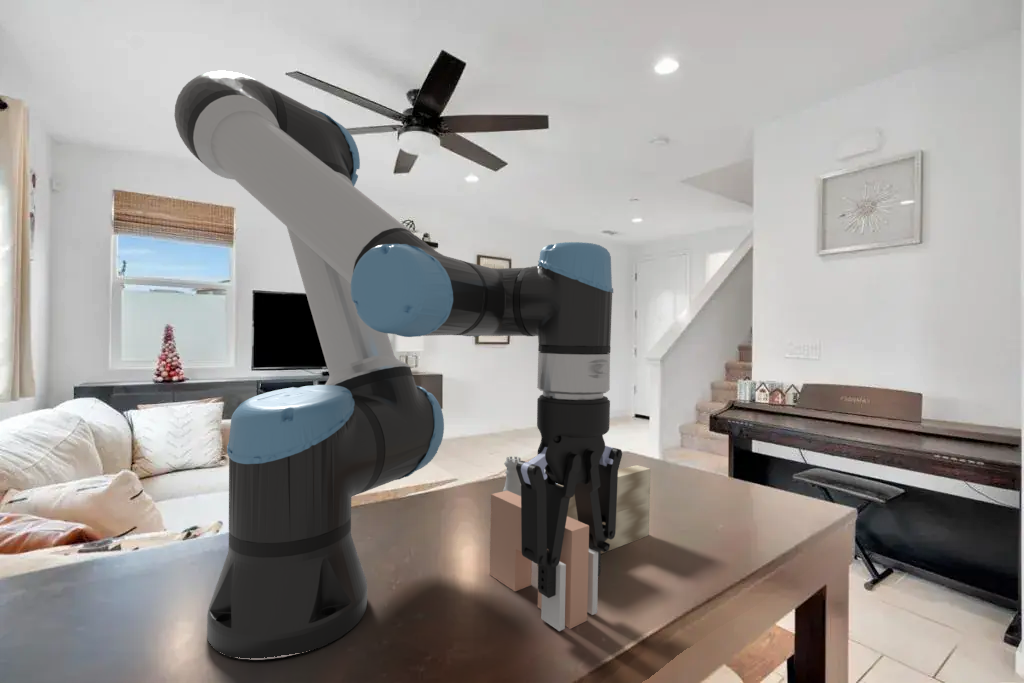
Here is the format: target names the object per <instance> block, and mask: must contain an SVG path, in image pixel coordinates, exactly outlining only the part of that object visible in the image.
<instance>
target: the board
mask: <svg viewBox="0 0 1024 683" xmlns="http://www.w3.org/2000/svg"><path fill="white" fill-rule="evenodd" d="M651 473H652V472H651V468H649V467H646V466H641V465H638V464H636V465H632V466H628V467H623V468H619V469H618V482H617V507H616V532H615V536H614V538H613V539H607V540H606V541H605V542H607V543H609V544H610V547H609V550H608V551H607V552H610V551H611V550H615V549H617V548H619V547H622V546H625V545H627V544H629V543H632V542H635V541H638V540H640V539H642V538H646V537H648V536H650V516H651V515H650V514H651V513H650V511H651V510H650V508H651V507H650V505H651V475H652V474H651ZM556 484H557V483H556ZM557 485H560V484H557ZM560 486H563V485H560ZM567 516H568V517H570V518H573V519H575V520H577V521H578V516H577V509H576V501H575V494H574V496H573V497H571V498H570V500H569V507H568V513H567ZM602 524H604V525H605V522H602ZM604 553H605V552H603V551H601V555H602V554H604ZM536 566H537V567H538V564H536Z"/></svg>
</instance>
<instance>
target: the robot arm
mask: <svg viewBox="0 0 1024 683" xmlns="http://www.w3.org/2000/svg"><path fill="white" fill-rule="evenodd" d="M173 117H174V120H175V126H176V130H177V133H178V135H179V137H180V139H181V140H182V142H183V143H184V145H185V146H186V148H187V149H188V151H189V152H190V153H191V154H192V155H193V156H194V157H195V158H196V160H198V161H199V162H200V163H201V164H203V165H204V166H205V167H206V168H207V169H208V170H209V171H211V172H212V173H214V174H215V175H217V176H220V177H222V178H224V179H228V180H234V181H236V183H238V184H239V185H240V187H242V188H243V189H244V190H246V191H247V193H249V194H250V195H251V196H252V197H253V198H254V199H256V200H257V201H258V202H259V203H260V204H261V205H262V206H263V207H264V208H266V209H267V211H268V212H270V213H271V214H272V215H273V216H274V217H275V218H276V219H278V220H279V221H280V222H281V223H282V224H283V225H285V226H286V228H287V229H286V230H287V232H288V236H289V239H290V243H291V246H292V250H293V252H294V256H295V260H296V263H297V266H298V270H299V274H300V277H301V282H302V284H303V288H304V291H305V294H306V297H307V301H308V306H309V309H310V312H311V315H312V320H313V323H314V326H315V330H316V333H317V337H318V340H319V343H320V347H321V350H322V354H323V357H324V361H325V365H326V367H327V372H328V374H329V376H328V378H327V380H326V382H325V383H324V384H313V385H305V386H300V387H294V386H292V387H288V388H287V387H286V388H282V389H281V388H280V389H275V390H272V391H267V392H264V393H261V394H258V395H254V396H252V397H250V398H248V399H246V400H244V401H242V402H241V403H240V404H238V406H237V408H236V409H235V410H234V412H233V413H232V415H231V418H230V419H231V420H230V427H229V428H230V429H229V436H228V443H227V446H226V454H227V456H228V551H227V555H226V558H225V561H224V563H223V567H222V568H221V571H220V574H219V577H218V581H217V584H216V586H215V588H214V592H213V594H212V597H211V600H210V603H209V605H208V609H207V618H206V621H207V622H206V627H207V628H206V639H207V641H209V642H208V644H209V643H210V644H211V645H210V644H209V645H210V647H211V646H213V647H214V648H215V649H216V650H217V651H219V652H221V653H223V654H225V655H227V656H231V657H238V658H239V657H240V658H250V659H251V658H264V657H265V658H267V657H274V656H275V657H277V656H281V655H289V654H295V653H302V652H306V651H309V650H312V651H314V650H313V649H315V650H317V649H316V648H318V649H320V648H322V647H325V646H327V645H329V644H332V643H333V642H334V641H336V640H338V639H340V638H341V637H343V636H344V635H346V634H347V633H348V632H350V631H352V629H354V627H355V626H356V625H357V624H358V623H359V622H360V621H361V620H362V619H363V617H364V615H365V613H366V610H367V606H368V584H367V582H368V581H367V578H366V575H365V571H364V569H363V566H362V562H361V561H360V557H359V555H358V551H357V548H356V545H355V542H354V539H353V537H352V498H353V497H355V496H357V495H360V494H363V493H365V492H367V491H371V490H372V489H375V488H378V487H381V486H383V485H386V484H388V483H391V482H394V481H397V480H402V479H403V478H407V477H409V476H411V475H412V474H414V473H415V472H417V471H419V470H420V469H423V468H424V467H426V466H427V465H429V464H430V462H432V460H433V459H434V458H435V457H436V455H437V454H438V450H439V448H440V447H441V444H442V441H443V439H444V431H445V421H444V414H443V410H442V407H441V405H440V402H439V401H438V400H437V398H436V397H435V395H434V394H433V393H432V392H429V391H427V389H426V388H424V387H422V386H421V385H416V382H415V378H414V375H413V373H412V370H411V369H412V368H411V366H410V364H408V363H406V362H404V361H402V360H400V359H398V358H397V357H396V356H395V353H394V351H393V347H392V344H391V341H390V338H389V337H390V336H389V335H390V334H392V335H396V336H400V337H404V338H412V337H413V338H414V337H425V336H427V337H428V336H463V337H474V338H475V337H483V336H484V337H489V336H491V337H493V336H494V337H503V336H504V337H509V336H510V337H513V336H514V337H518V336H519V337H522V336H524V337H537V339H538V348H537V350H538V352H537V354H538V355H537V358H538V359H537V387H536V388H537V389H538V390H539V391H541V392H542V393H541V394H540V395H539V397H537V409H536V422H537V423H536V427H537V430H538V431H539V432H540V437H541V438H540V443H539V446H538V448H537V455H536V456H534V457H532V458H531V459H530V460H529V461H525V460H521V461H519V462H518V463H517V465H516V470H517V474H518V477H519V480H520V483H521V538H522V555H523V556H524V557H526V558H527V559H529V560H531V561H532V563H535V565H537V564H538V566H537V591H538V590H539V592H540V593H541V594H542V608H541V609H540V610H541V611H540V612H541V615H540V616H541V618H540V619H541V620H542V621H543V622H545V623H547V625H549V626H551V627H553V628H554V629H555V630H557V631H558V632H561V631H564V630H565V629H566V626H565V586H566V564H564V563H562V562H560V556H561V550H562V544H563V538H564V531H565V525H566V519H567V513H568V507H569V500H570V498H571V497H573V496H574V494H575V501H576V509H577V516H578V521H580V522H582V523H584V524H587V525H589V556H588V604H587V614H590V615H591V616H593V615H595V614H597V613H598V594H599V593H598V592H599V591H598V588H599V586H598V585H599V583H598V582H599V579H598V578H599V577H600V574H601V566H602V565H601V564H602V563H601V561H602V560H601V559H602V557H601V556H602V554H601V551H603V552H604V553H607V552H609V551H608V550H609V547H610V544H609V543H607V542H605V541H606V540H607V539H613V538H614V536H615V532H616V507H617V482H618V469H620V465H621V461H622V456H623V451H622V449H619V448H616V447H612V446H608V445H606V442H605V439H604V436H605V435H606V434H607V433H608V432H609V430H610V420H611V419H610V414H611V413H610V412H611V400H610V399H609V398H608V396H605V395H604V394H606V393H607V392H609V391H610V386H611V382H610V381H611V380H610V376H611V375H610V374H611V373H610V372H611V371H610V370H611V366H610V365H611V341H612V340H611V339H612V336H611V335H612V312H613V310H612V308H613V294H614V288H613V280H612V278H613V277H612V256H611V252H609V250H608V249H607V248H605V247H604V246H602V245H600V244H596V243H593V242H592V243H591V242H580V241H578V242H577V241H571V242H569V241H567V242H566V241H565V242H557V243H554V244H548V245H545V246H543V247H542V249H541V250H540V251H539V260H537V262H538V264H537V265H533V266H532V265H531V266H528V267H511V268H510V267H508V268H506V267H505V268H493V267H489V266H484V265H480V264H476V263H472V262H469V261H465V260H461V259H458V258H454V257H450V256H447V255H444V254H442V253H440V252H438V251H436V249H434V248H433V247H431V246H430V245H429V244H428V243H427V242H425V241H424V240H422V239H421V238H420V237H418V236H417V235H416V234H414V233H413V232H412V231H411V230H410V229H409V228H407V227H406V226H405V225H403V223H401V222H400V221H399V220H397V219H396V218H395V217H394V216H392V215H391V214H390V213H388V212H387V211H386V210H385V209H383V208H382V207H381V206H380V205H378V203H376V202H374V201H373V200H372V199H371V198H370V197H368V196H367V195H365V194H364V193H363V192H362V191H360V190H359V189H358V188H356V187H355V185H356V183H357V181H358V179H359V175H358V174H357V171H358V170H360V169H361V168H360V167H361V161H360V160H361V159H360V153H359V150H358V145H357V144H356V141H355V139H354V137H353V136H352V134H351V133H350V131H349V129H347V128H346V127H344V126H343V124H341V123H339V122H338V121H336V120H335V119H334V118H333V117H331V116H330V115H328V114H327V113H324V112H323V111H320V110H317V109H314V108H311V107H310V106H307V105H306V104H304V103H302V102H300V101H298V100H295V99H294V98H292V97H289V95H286V94H284V93H282V92H280V91H278V90H277V89H274V88H273V87H271V86H268V85H266V84H265V83H263V82H261V81H259V80H258V79H255V78H253V77H250V76H248V75H245V74H242V73H239V72H233V71H226V70H217V71H210V72H205V73H202V74H200V75H197V76H196V77H194V78H192V79H191V80H190V81H188V82H187V83H186V84H185V85H184V86H183V87H182V89H181V90H180V93H179V94H178V95H177V99H176V101H175V105H174V116H173ZM557 484H560V485H563V486H560V485H557ZM602 522H605V525H604V524H602ZM547 549H548V550H547ZM328 643H329V644H328ZM321 646H322V647H321ZM216 650H215V651H216ZM217 651H216V652H217ZM219 652H218V653H219ZM225 655H224V656H225ZM227 656H226V657H227ZM231 657H230V658H231Z"/></svg>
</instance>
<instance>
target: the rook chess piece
mask: <svg viewBox="0 0 1024 683" xmlns="http://www.w3.org/2000/svg"><path fill="white" fill-rule="evenodd" d="M519 461H522V458H521V457H520V456H519V457H518V456H514V458H513V456H509V457H508V456H506V460H505V462H504V463H503V465H504V466H505V467H506V470H505V471H504V472H505V475H506V478H505V483H504V488H502V489H503V491H510V492H512V493H514V494H517V495H519V496H521V483H520V480H519V477H518V474H517V470H516V465H517V463H518V462H519ZM503 491H502V492H503Z"/></svg>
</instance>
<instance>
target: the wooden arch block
mask: <svg viewBox="0 0 1024 683" xmlns="http://www.w3.org/2000/svg"><path fill="white" fill-rule="evenodd" d="M489 532H490V533H489V534H490V535H489V536H490V538H489V540H490V541H489V544H490V547H489V549H490V550H489V556H490V557H489V575H490V576H491V577H493V578H495V580H498V582H499V583H501V584H503V585H504V586H506V587H508V589H510V590H511V591H513V592H517V591H521V590H523V589H525V588H527V587H530V586H532V573H533V572H532V570H533V568H532V566H533V565H532V564H533V561H531V560H529V559H527V558H526V557H524V556H523V555H522V538H521V496H519V495H517V494H514V493H512V492H510V491H499V492H495V493H491V494H490V531H489ZM547 550H548V549H547ZM588 556H589V525H587V524H584V523H582V522H580V521H577V520H575V519H573V518H570V517H568V516H567V519H566V525H565V531H564V538H563V544H562V550H561V556H560V562H562V563H564V564H566V586H565V628H568V629H570V630H571V629H573V628H575V627H577V626H579V625H581V624H583V623H585V622H588V612H587V604H588ZM537 608H538V609H540V610H541V608H542V594H541V593H540V592H539V590H538V589H537Z"/></svg>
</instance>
